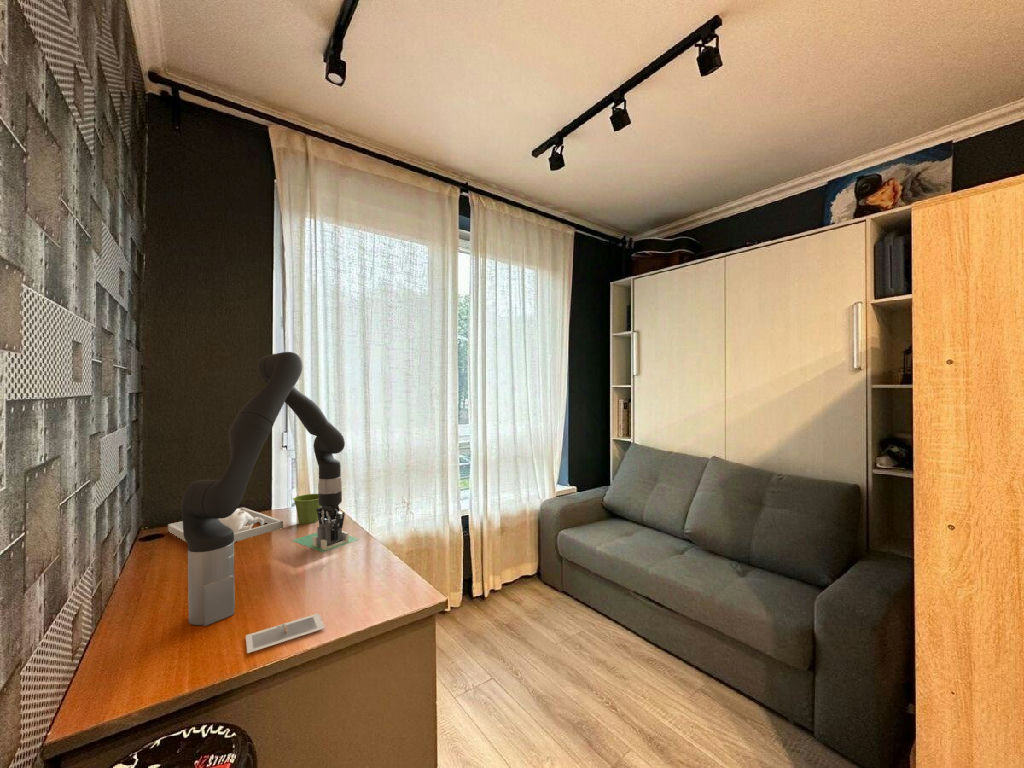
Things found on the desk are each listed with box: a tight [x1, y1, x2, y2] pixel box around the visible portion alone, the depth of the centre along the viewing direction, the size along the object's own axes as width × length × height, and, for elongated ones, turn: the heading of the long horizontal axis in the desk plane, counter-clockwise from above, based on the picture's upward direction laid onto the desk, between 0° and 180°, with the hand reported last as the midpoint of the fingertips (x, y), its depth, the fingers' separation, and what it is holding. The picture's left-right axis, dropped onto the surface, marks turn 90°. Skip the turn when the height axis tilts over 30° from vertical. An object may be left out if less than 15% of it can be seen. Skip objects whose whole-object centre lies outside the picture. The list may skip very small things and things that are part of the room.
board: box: [291, 530, 360, 554], centre depth 147 cm, size 20×14×4 cm
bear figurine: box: [218, 508, 265, 533], centre depth 160 cm, size 17×14×20 cm
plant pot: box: [292, 493, 322, 525], centre depth 168 cm, size 12×12×11 cm
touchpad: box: [245, 613, 326, 654], centre depth 93 cm, size 8×15×2 cm, turn 125°
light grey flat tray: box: [167, 506, 284, 543], centre depth 163 cm, size 36×27×3 cm
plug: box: [316, 519, 343, 546], centre depth 143 cm, size 4×7×7 cm, turn 145°
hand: (330, 539), depth 143 cm, fingers open, 4 cm apart
